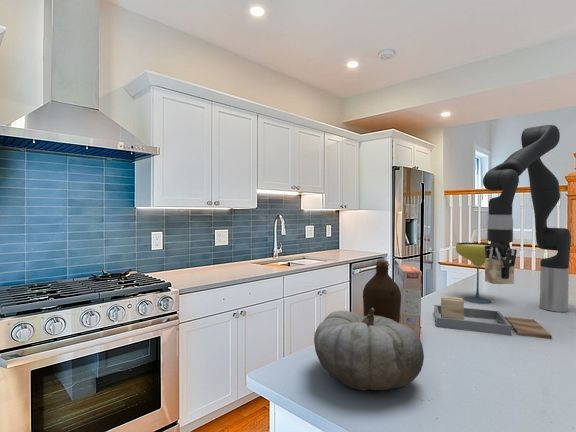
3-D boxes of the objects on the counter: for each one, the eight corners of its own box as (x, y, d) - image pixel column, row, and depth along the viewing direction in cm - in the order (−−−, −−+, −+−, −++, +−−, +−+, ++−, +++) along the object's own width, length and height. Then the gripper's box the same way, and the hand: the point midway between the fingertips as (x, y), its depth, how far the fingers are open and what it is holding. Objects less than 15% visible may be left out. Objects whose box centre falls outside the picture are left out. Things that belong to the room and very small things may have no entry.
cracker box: (421, 339, 106) (422, 271, 106) (401, 337, 107) (402, 270, 107) (414, 324, 120) (415, 264, 120) (396, 323, 121) (397, 263, 121)
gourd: (345, 408, 64) (346, 311, 67) (293, 372, 86) (296, 301, 90) (448, 397, 73) (445, 312, 76) (376, 368, 95) (376, 303, 99)
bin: (434, 312, 135) (434, 304, 135) (499, 319, 127) (499, 311, 127) (436, 326, 118) (436, 317, 118) (511, 335, 110) (511, 326, 110)
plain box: (440, 318, 128) (441, 296, 128) (461, 320, 126) (462, 298, 126) (441, 322, 123) (442, 299, 123) (463, 324, 121) (463, 301, 121)
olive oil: (406, 347, 100) (407, 260, 99) (390, 358, 92) (392, 264, 91) (372, 338, 107) (373, 257, 106) (355, 348, 99) (356, 260, 98)
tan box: (484, 281, 122) (485, 258, 122) (504, 280, 122) (504, 258, 122) (494, 284, 117) (494, 260, 117) (514, 284, 117) (514, 260, 117)
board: (504, 318, 127) (504, 316, 127) (533, 321, 124) (533, 319, 124) (517, 335, 111) (518, 332, 111) (551, 339, 107) (551, 335, 107)
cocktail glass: (449, 300, 153) (450, 244, 153) (460, 293, 167) (461, 241, 167) (496, 308, 142) (497, 247, 141) (504, 300, 155) (505, 244, 155)
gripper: (525, 229, 112) (524, 281, 112) (497, 226, 126) (496, 273, 127) (503, 229, 112) (502, 281, 112) (477, 226, 126) (476, 273, 126)
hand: (499, 276), depth 119 cm, fingers closed on tan box, 5 cm apart
